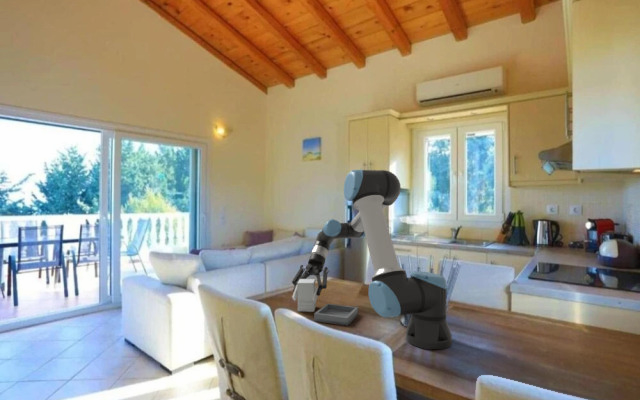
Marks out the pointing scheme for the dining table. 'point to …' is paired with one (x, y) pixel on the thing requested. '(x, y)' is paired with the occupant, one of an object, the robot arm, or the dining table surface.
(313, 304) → the supplement box
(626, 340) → the dining table surface
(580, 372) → the dining table surface
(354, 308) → the holder tray
